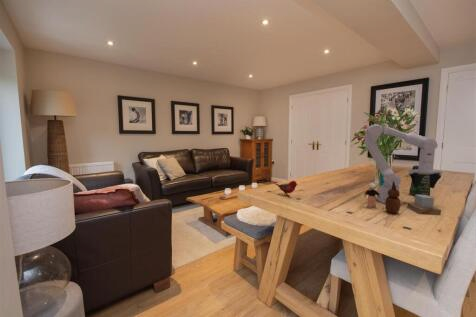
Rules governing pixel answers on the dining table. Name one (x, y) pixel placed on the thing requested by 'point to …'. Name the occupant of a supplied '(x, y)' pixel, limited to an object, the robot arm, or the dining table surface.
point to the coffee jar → (421, 184)
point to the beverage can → (381, 179)
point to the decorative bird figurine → (287, 187)
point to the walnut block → (424, 209)
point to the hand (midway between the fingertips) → (423, 187)
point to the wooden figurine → (393, 200)
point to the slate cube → (424, 201)
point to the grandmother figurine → (372, 195)
